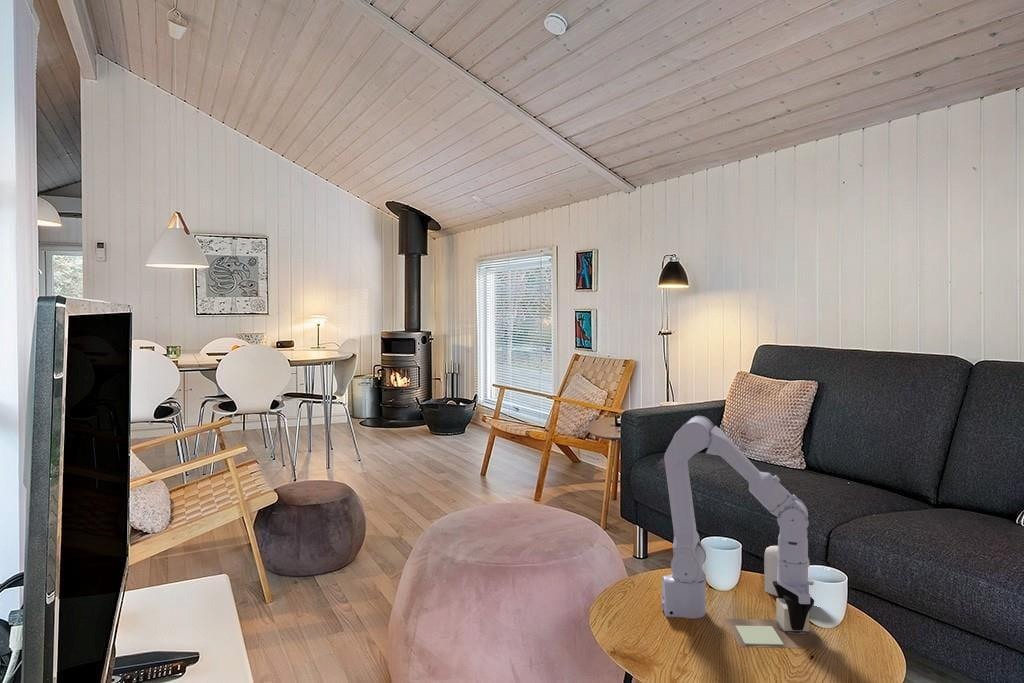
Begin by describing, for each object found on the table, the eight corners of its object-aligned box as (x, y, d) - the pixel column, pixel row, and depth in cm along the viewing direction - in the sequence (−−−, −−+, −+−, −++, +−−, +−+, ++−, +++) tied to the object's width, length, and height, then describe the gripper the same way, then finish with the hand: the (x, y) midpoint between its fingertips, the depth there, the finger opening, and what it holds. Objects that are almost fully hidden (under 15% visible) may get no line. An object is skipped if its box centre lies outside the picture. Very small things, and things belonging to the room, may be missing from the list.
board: (739, 652, 133) (739, 646, 133) (724, 624, 145) (724, 618, 145) (828, 654, 132) (828, 648, 132) (806, 625, 144) (806, 620, 144)
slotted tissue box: (784, 630, 138) (784, 608, 138) (776, 619, 143) (776, 597, 143) (809, 631, 138) (809, 608, 138) (800, 619, 143) (800, 598, 143)
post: (781, 634, 138) (781, 613, 137) (771, 620, 144) (772, 599, 144) (813, 635, 137) (814, 613, 137) (802, 620, 144) (802, 599, 143)
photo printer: (761, 595, 159) (761, 544, 158) (770, 590, 162) (771, 540, 161) (803, 610, 151) (803, 556, 150) (812, 605, 154) (813, 551, 153)
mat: (744, 644, 134) (744, 643, 134) (735, 626, 141) (735, 625, 141) (783, 645, 133) (783, 644, 133) (771, 627, 141) (771, 626, 141)
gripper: (826, 573, 132) (825, 640, 133) (800, 546, 147) (800, 607, 148) (789, 572, 133) (789, 639, 134) (767, 546, 147) (767, 607, 148)
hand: (792, 623), depth 141 cm, fingers closed on slotted tissue box, 5 cm apart
